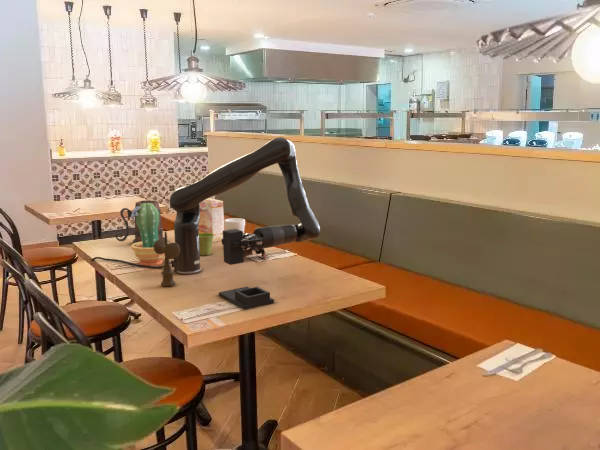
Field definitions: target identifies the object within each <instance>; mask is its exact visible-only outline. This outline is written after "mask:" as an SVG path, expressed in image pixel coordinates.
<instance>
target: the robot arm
mask: <svg viewBox="0 0 600 450" xmlns="http://www.w3.org/2000/svg"><path fill="white" fill-rule="evenodd" d="M276 164H277V165H278V167H279V169H280V171H281V174H282V178H283V182H284V188H285V189H284V190H285V195H286V200H287V203H288V205H289V209H290V212H291V215H292V216H293V217H294V218H297V219H299V221H300V223H295V224H290V223H289V224H287V223H286V224H281V225H267V226H261V227H256V228H255V229H254V230H253V232H252V233H251V232H247V233H245V232H244V233H243V239H241V240H236V241H230V242H229V247H230V248H236V247H240V246H241V247H245V248H248V249H249V248H251V247H257V248H258V249H264V250H265V249H268V248H269V249H270V248H275V247H279V246H283V245H290V244H293V243H305V242H309V241H311V240H315V239H317V238H318V237H319V236H320V234H321V227H320V222H319V220H318V219H317V217H316V216H315V214H314V212H313V211H312V209H311V207H310V204H309V201H308V197H307V194H306V191H305V188H304V185H303V182H302V179H301V176H300V172H299V167H298V160H297V154H296V148H295V145H294V143H293V142H292V141H291V140H290V139H287V138H285V137H283V136H278V137H274V138H272V139H271V140H270V141H268V142H266V143H265V144H263V145H262V146H260V147H259V148H257V149H256V150H254V151H252V152H250V153H247V154H245V155H243V156H240V157H238V158H236V159H234V160H232V161H229V162H227V163H226V164H223V165H221V166H220V167H218V168H217V169H215V170H213V171H212V172H210V173H209V174H207V175H205V176H204V177H203V178H201V179H200V180H198V181H195V182H193V183H191V184H188V185H186V186H182V187H179V188H177V189H175V190H174V191H173V192H172V193H171V195H170V196H169V205H170V208H171V209H173V210H174V211H176V216H175V220H174V221H173V229H174V242H175V243H177V244H178V245H179V247H180V253H179V255H178V257H176V258H174V259H170V265H171V268H173V272H174V274H175V273H176V274H179V275H194V274H197V273H200V272H201V271H202V268H201V255H200V246H199V220H200V202H202V201H204V200H206V199H208V198H213V197H215V196H219V195H221V194H224V193H226V192H229V191H231V190H233V189H235V188H237V187H239V186H241V185H243V184H244V183H247V182H248V181H249V180H251V179H252V178H253V177H254V176H255V175H256V174H258V173H259V172H261V171H263V170H264V169H266V168H269V167H271V166H273V165H276ZM221 245H222V246H223V239H222V240H221ZM95 260H101V261H110V262H117V263H122V264H127V265H130V266H135V267H140V268H147V269H164V264H163V265H161V266H156V265H154V266H147V265H141V264H140V263H139V264H138V263H134V262H129V261H126V260H121V259H114V258H106V257H101V256H94V257H93V258H92V259H91V261H92V262H94V261H95Z"/></svg>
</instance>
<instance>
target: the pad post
mask: <svg viewBox="0 0 600 450" xmlns="http://www.w3.org/2000/svg"><path fill="white" fill-rule="evenodd" d="M241 239H243V231H241V230H238V229H231V230H226V229H224V231H223V245H222V248H223V252H222V253H223V262H224V263H225V264H228V265H230V266H233V265H238V264H244V263H245V258H244V255H243V247H241V246H240V247H236V248H230V247H229V242H230V241H236V240H241Z"/></svg>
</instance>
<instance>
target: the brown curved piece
mask: <svg viewBox="0 0 600 450" xmlns="http://www.w3.org/2000/svg"><path fill="white" fill-rule="evenodd" d="M253 252H255V254H256V255H261V257H262V258H263V260H266V259H267V255H266V251H265V248H264V249H258V248H257V247H251V248H245V247H243V255H244V259H246V257H247V256H253Z"/></svg>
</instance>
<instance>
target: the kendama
mask: <svg viewBox="0 0 600 450" xmlns="http://www.w3.org/2000/svg"><path fill="white" fill-rule="evenodd" d="M164 238H165V240H164V239H160V240H157V241H156V242H155V244H154V251H155V252H156V253H157V254H163V253H164V254H165V256H164V261H163V265H164V268H162V269H163V270H162V271H161V276H162V280H161V282H160V285H161V287H166V288H168V287H172V286H175V285H176V281H175V279H174V274H175V273H174V270H173V269H172V266H171V264H170V262H171V260H173V259H174V258H176V257H178V255H179V253H180V247H179V245H178V244H177V243H175V241H172V242H169V241H168V232H167V231H164ZM168 242H169V243H168Z"/></svg>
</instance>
